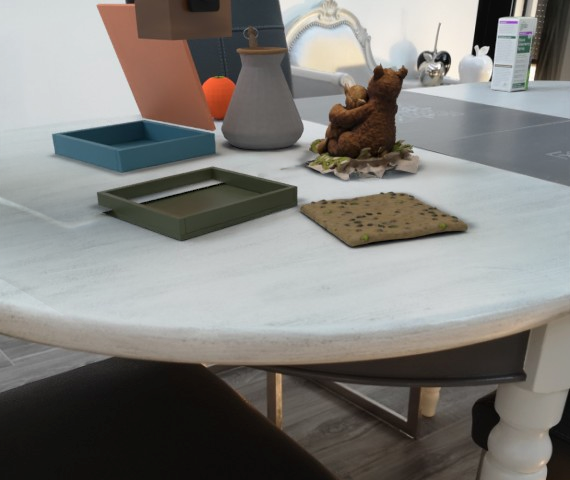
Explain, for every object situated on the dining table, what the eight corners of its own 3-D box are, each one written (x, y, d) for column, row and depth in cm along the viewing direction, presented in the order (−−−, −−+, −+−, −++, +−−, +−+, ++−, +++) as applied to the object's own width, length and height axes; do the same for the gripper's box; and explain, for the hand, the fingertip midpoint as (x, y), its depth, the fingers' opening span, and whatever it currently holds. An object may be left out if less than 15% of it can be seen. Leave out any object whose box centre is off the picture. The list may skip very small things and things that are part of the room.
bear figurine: (385, 150, 92) (392, 54, 86) (434, 175, 79) (445, 64, 73) (290, 156, 89) (290, 56, 83) (325, 183, 76) (328, 68, 70)
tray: (181, 241, 59) (179, 219, 58) (99, 211, 67) (96, 192, 66) (297, 205, 68) (297, 186, 67) (213, 183, 76) (212, 166, 75)
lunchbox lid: (170, 6, 76) (174, 3, 76) (95, 5, 85) (99, 3, 85) (213, 131, 86) (216, 129, 86) (142, 118, 95) (145, 116, 96)
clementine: (204, 114, 120) (202, 72, 116) (243, 114, 119) (241, 72, 116) (197, 122, 113) (194, 77, 109) (238, 122, 112) (236, 77, 109)
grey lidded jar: (310, 156, 89) (311, 32, 82) (224, 159, 88) (217, 33, 80) (288, 128, 107) (288, 24, 100) (217, 130, 106) (212, 25, 99)
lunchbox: (122, 179, 79) (119, 150, 77) (55, 159, 88) (51, 133, 86) (216, 159, 88) (214, 133, 86) (146, 143, 97) (144, 119, 96)
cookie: (297, 209, 66) (297, 200, 66) (403, 197, 70) (404, 188, 70) (349, 247, 57) (350, 236, 56) (470, 230, 60) (471, 220, 60)
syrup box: (510, 92, 144) (521, 17, 137) (489, 89, 148) (498, 16, 141) (527, 90, 146) (539, 16, 140) (506, 87, 151) (516, 16, 144)
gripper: (62, -241, 54) (95, 11, 62) (197, -299, 43) (214, 13, 52) (139, -223, 59) (159, 9, 67) (277, -271, 48) (280, 11, 57)
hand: (183, 8), depth 60 cm, fingers closed on block, 5 cm apart
